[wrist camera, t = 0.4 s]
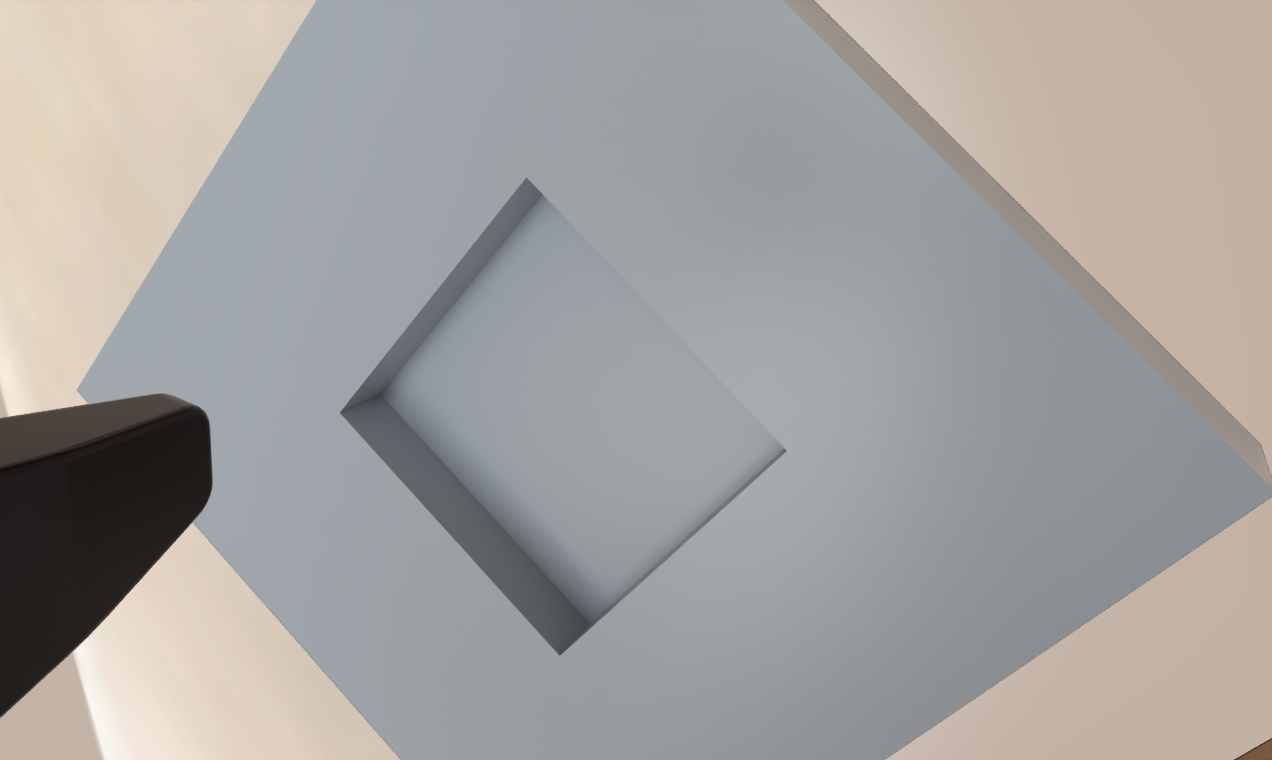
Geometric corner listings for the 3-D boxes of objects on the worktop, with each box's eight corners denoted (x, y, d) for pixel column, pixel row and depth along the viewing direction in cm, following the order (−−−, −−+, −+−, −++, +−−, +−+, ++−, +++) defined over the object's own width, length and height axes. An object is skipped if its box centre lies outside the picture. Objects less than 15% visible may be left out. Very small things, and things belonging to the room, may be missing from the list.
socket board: (625, 893, 28) (581, 965, 26) (156, 365, 29) (76, 389, 27) (1261, 444, 20) (1277, 493, 17) (560, -252, 21) (494, -289, 19)
